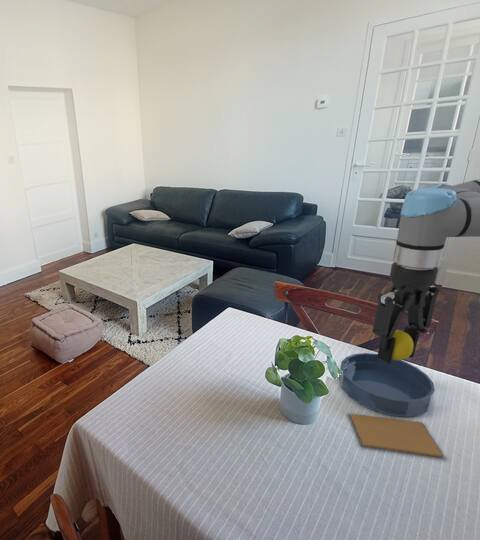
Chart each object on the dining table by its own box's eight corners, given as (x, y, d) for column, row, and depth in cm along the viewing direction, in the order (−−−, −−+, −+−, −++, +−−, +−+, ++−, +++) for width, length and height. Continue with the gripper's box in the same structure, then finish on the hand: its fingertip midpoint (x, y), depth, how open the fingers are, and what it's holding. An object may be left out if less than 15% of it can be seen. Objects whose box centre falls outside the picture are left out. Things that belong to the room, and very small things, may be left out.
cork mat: (420, 424, 78) (421, 422, 78) (441, 457, 70) (442, 455, 70) (350, 415, 83) (351, 413, 83) (363, 446, 75) (363, 443, 75)
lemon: (382, 350, 83) (388, 321, 80) (411, 358, 79) (418, 329, 76) (377, 361, 79) (382, 331, 77) (407, 370, 76) (414, 339, 73)
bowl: (408, 371, 95) (412, 356, 93) (447, 423, 78) (452, 406, 76) (330, 364, 101) (332, 350, 99) (350, 411, 84) (353, 395, 82)
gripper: (432, 252, 76) (412, 340, 84) (361, 266, 73) (347, 356, 81) (471, 262, 69) (445, 357, 77) (394, 278, 66) (375, 375, 74)
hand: (395, 356), depth 79 cm, fingers closed on lemon, 5 cm apart
